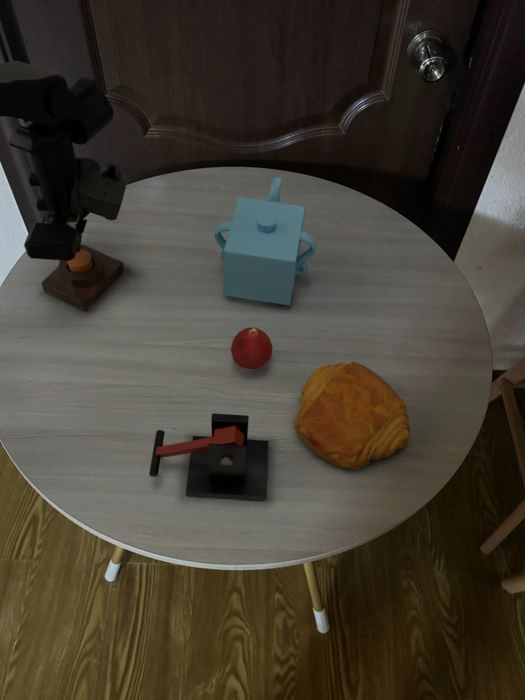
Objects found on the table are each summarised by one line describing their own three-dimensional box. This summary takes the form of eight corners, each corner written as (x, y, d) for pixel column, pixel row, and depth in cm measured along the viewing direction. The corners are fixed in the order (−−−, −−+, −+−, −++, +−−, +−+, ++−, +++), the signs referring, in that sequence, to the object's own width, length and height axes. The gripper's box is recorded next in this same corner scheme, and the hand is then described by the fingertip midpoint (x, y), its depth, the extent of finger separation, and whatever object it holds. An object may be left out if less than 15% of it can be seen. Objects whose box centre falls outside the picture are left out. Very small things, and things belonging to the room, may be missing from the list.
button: (82, 277, 94) (80, 269, 92) (64, 268, 95) (61, 260, 93) (97, 263, 96) (95, 254, 94) (79, 254, 97) (76, 246, 95)
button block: (85, 312, 94) (80, 295, 91) (44, 292, 96) (38, 274, 93) (124, 271, 100) (121, 254, 96) (84, 253, 102) (80, 235, 98)
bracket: (186, 496, 77) (181, 461, 70) (193, 439, 82) (189, 400, 74) (265, 501, 78) (270, 466, 70) (268, 444, 82) (272, 406, 74)
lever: (154, 479, 76) (144, 471, 74) (161, 436, 80) (152, 428, 78) (242, 465, 72) (232, 456, 70) (245, 420, 76) (236, 411, 74)
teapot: (305, 314, 96) (315, 255, 86) (207, 299, 97) (205, 238, 87) (317, 236, 107) (327, 175, 97) (229, 223, 108) (229, 161, 97)
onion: (236, 383, 88) (237, 350, 81) (226, 352, 91) (226, 317, 85) (275, 376, 89) (279, 342, 83) (264, 345, 92) (267, 310, 86)
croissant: (342, 371, 93) (346, 333, 87) (424, 435, 84) (435, 398, 78) (270, 423, 86) (269, 385, 80) (351, 497, 78) (356, 461, 72)
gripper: (101, 215, 74) (119, 300, 87) (128, 125, 86) (140, 212, 98) (8, 208, 74) (39, 295, 87) (48, 119, 85) (70, 207, 98)
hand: (76, 250), depth 92 cm, fingers closed
